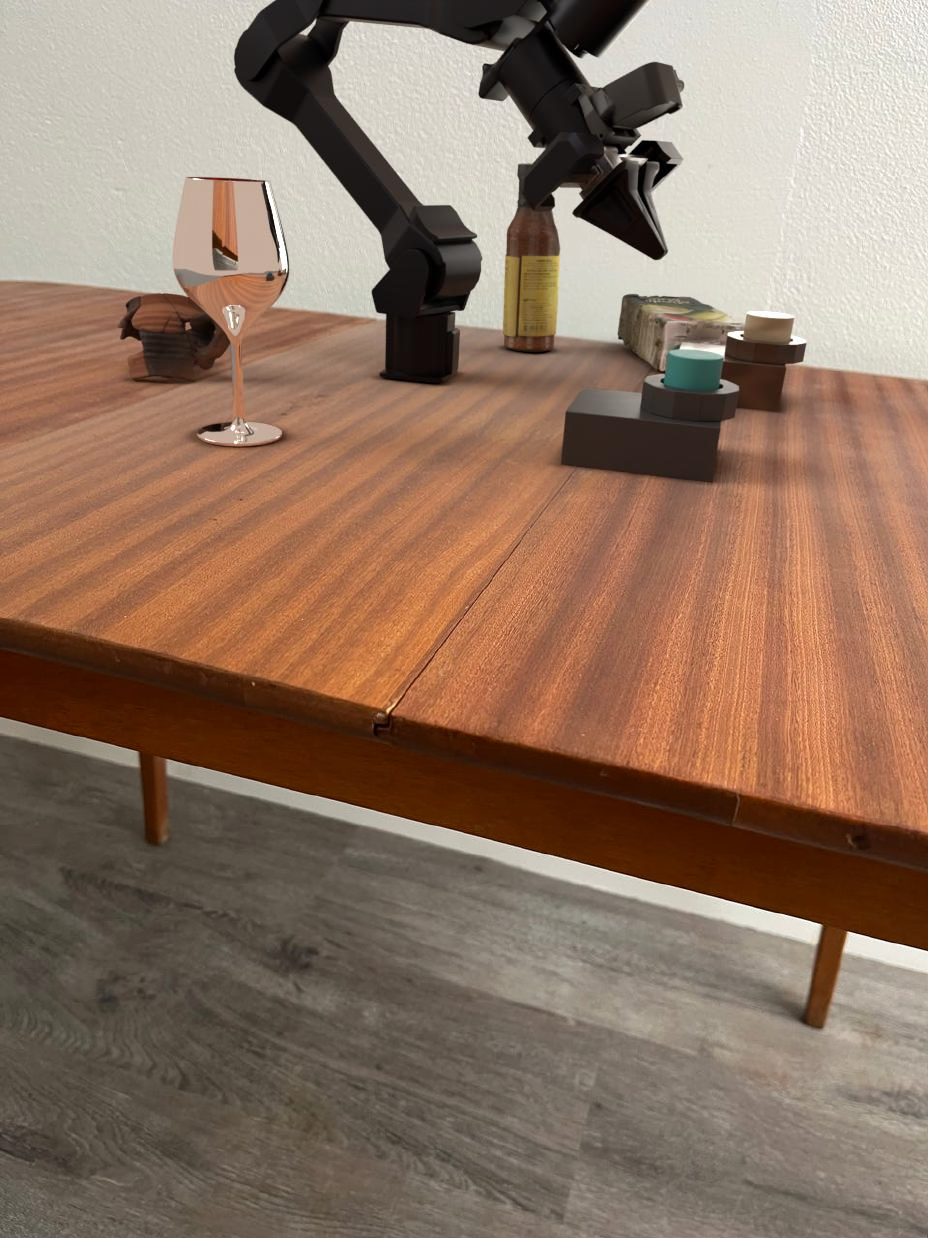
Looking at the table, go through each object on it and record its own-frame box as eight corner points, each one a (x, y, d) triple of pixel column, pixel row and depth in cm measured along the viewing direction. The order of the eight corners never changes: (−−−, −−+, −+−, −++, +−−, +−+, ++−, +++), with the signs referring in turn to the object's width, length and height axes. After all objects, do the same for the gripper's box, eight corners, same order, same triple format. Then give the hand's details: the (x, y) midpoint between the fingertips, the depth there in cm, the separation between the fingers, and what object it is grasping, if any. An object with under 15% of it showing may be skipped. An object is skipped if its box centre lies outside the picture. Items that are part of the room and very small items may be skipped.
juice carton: (748, 376, 107) (757, 317, 105) (660, 375, 106) (668, 315, 103) (688, 345, 125) (695, 294, 123) (613, 343, 124) (618, 292, 121)
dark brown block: (560, 464, 73) (568, 383, 71) (577, 435, 81) (585, 361, 79) (725, 484, 71) (739, 400, 68) (726, 452, 79) (739, 376, 76)
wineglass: (312, 430, 78) (308, 182, 71) (260, 455, 71) (250, 183, 64) (221, 417, 81) (208, 175, 73) (163, 440, 74) (141, 175, 66)
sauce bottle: (563, 349, 117) (580, 165, 109) (538, 355, 113) (554, 164, 104) (515, 341, 121) (528, 162, 112) (489, 347, 116) (500, 160, 107)
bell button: (742, 343, 93) (746, 315, 92) (742, 336, 97) (746, 309, 96) (790, 347, 92) (795, 319, 91) (788, 340, 96) (793, 313, 95)
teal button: (661, 391, 72) (666, 356, 71) (665, 381, 75) (669, 347, 74) (717, 397, 71) (723, 361, 70) (718, 386, 74) (724, 352, 73)
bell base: (670, 400, 95) (679, 336, 92) (675, 382, 103) (684, 323, 100) (796, 413, 93) (809, 348, 90) (791, 394, 100) (803, 333, 98)
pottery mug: (97, 383, 91) (94, 296, 92) (159, 410, 100) (156, 331, 101) (211, 362, 87) (207, 271, 88) (265, 391, 96) (261, 309, 97)
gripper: (570, 4, 70) (693, 184, 69) (676, 36, 84) (779, 186, 83) (472, 125, 77) (582, 289, 77) (585, 136, 91) (679, 274, 91)
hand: (662, 256), depth 82 cm, fingers closed
